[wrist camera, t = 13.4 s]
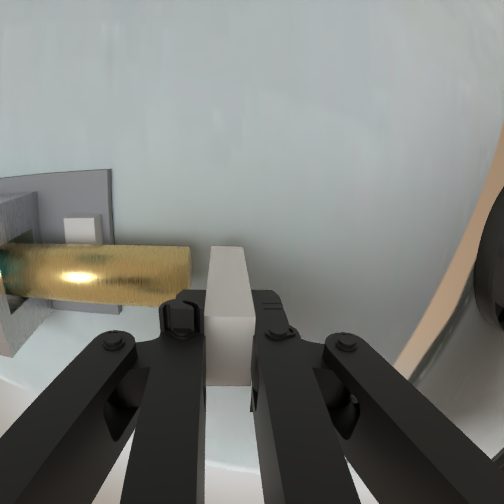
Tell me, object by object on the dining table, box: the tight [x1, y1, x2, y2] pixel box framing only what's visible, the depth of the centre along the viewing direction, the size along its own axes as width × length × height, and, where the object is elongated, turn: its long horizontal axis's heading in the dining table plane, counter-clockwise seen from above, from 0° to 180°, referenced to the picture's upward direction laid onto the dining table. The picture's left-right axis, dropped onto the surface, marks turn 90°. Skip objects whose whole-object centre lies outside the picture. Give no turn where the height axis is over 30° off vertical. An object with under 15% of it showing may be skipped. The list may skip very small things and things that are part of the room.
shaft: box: [0, 243, 192, 307], centre depth 15 cm, size 13×3×3 cm, turn 88°
